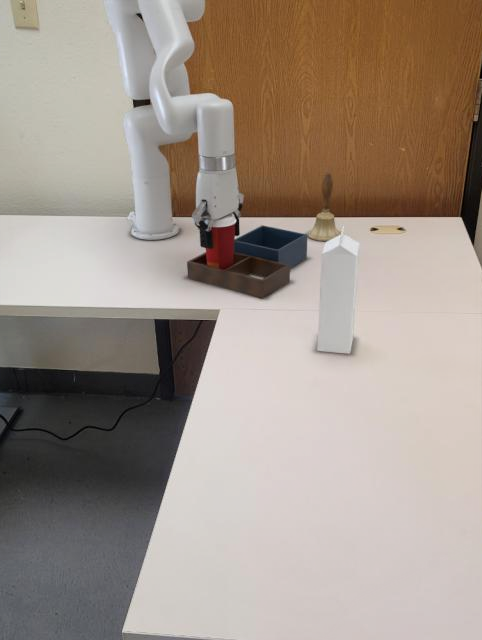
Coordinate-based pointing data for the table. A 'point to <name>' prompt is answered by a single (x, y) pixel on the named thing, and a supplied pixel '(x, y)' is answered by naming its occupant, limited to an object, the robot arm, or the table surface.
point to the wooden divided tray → (242, 274)
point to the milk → (338, 294)
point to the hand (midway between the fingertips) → (220, 241)
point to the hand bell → (325, 215)
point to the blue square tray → (273, 245)
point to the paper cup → (222, 243)
